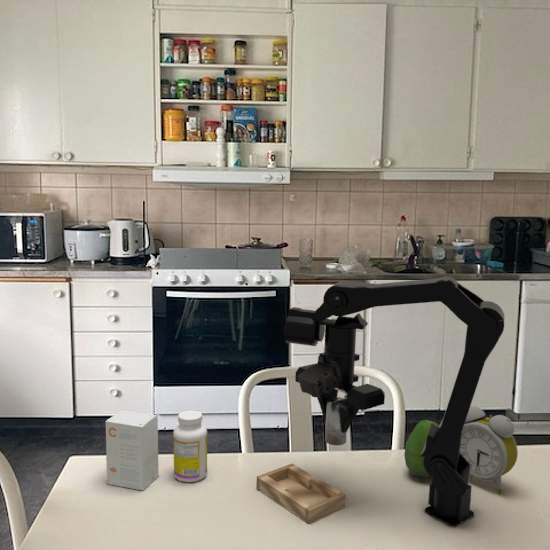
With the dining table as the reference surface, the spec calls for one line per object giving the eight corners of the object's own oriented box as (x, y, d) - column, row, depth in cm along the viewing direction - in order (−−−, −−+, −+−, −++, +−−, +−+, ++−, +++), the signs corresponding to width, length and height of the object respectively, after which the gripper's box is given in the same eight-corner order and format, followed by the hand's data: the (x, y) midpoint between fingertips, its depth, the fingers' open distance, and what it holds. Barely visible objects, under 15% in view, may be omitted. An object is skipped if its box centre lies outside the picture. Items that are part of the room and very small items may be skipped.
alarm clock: (448, 475, 124) (454, 405, 122) (466, 465, 128) (472, 398, 126) (502, 498, 115) (509, 424, 113) (519, 487, 120) (526, 415, 117)
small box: (159, 476, 121) (158, 414, 119) (143, 491, 115) (142, 426, 113) (123, 469, 123) (122, 408, 121) (105, 484, 117) (104, 420, 115)
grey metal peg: (350, 441, 115) (352, 401, 114) (335, 447, 113) (337, 406, 111) (335, 434, 118) (337, 395, 117) (320, 439, 116) (322, 399, 115)
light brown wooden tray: (345, 507, 111) (345, 494, 111) (308, 523, 105) (309, 510, 105) (291, 474, 123) (292, 463, 122) (256, 488, 117) (256, 476, 116)
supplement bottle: (191, 464, 126) (191, 405, 124) (214, 474, 122) (214, 414, 120) (166, 476, 121) (166, 415, 119) (189, 487, 117) (189, 424, 115)
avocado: (446, 485, 120) (451, 428, 118) (406, 484, 120) (410, 427, 118) (436, 466, 128) (440, 412, 126) (399, 465, 128) (402, 411, 126)
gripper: (274, 343, 115) (272, 421, 117) (344, 370, 100) (339, 458, 103) (318, 335, 122) (315, 409, 124) (389, 359, 107) (384, 441, 110)
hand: (336, 428), depth 115 cm, fingers closed on grey metal peg, 4 cm apart
